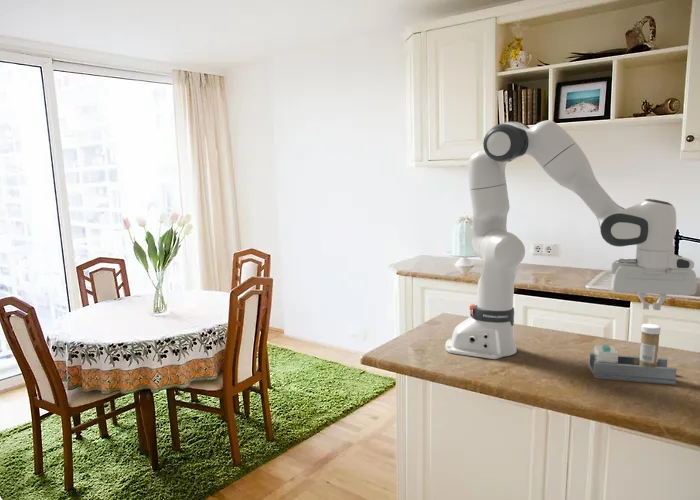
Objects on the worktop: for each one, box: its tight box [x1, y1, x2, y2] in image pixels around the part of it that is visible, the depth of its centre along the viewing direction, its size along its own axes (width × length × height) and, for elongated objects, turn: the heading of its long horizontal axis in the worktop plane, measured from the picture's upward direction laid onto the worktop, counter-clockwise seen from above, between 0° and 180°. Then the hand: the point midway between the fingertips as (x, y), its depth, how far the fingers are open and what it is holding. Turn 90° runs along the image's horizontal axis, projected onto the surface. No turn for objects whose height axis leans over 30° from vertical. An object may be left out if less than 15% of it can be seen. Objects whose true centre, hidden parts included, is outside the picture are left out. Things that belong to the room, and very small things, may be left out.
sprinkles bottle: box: [639, 323, 661, 367], centre depth 145 cm, size 5×5×14 cm
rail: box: [587, 344, 677, 386], centre depth 146 cm, size 20×10×8 cm, turn 75°
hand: (650, 309), depth 143 cm, fingers closed
